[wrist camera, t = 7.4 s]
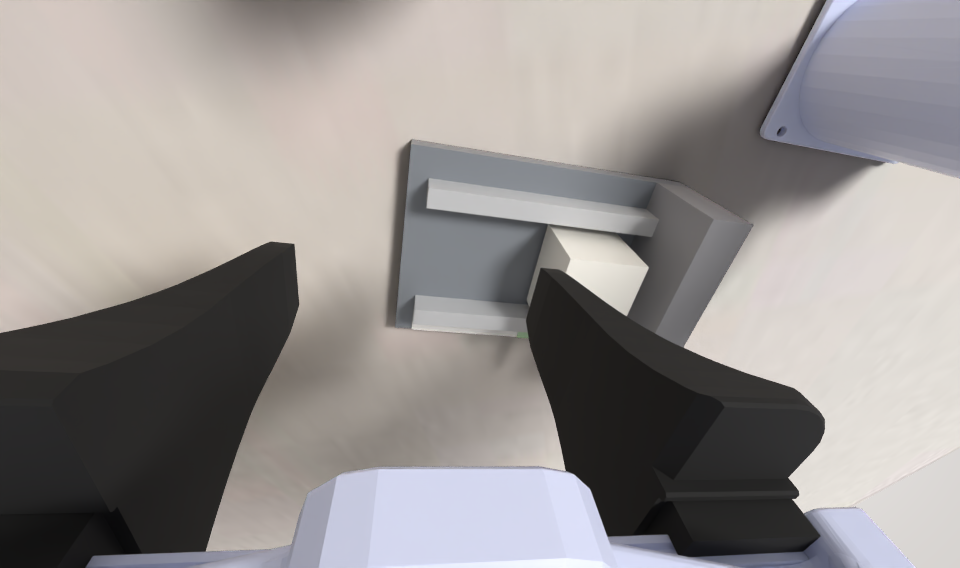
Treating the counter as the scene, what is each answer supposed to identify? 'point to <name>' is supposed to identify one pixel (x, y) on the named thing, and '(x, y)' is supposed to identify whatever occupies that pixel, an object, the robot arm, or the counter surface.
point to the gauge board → (521, 230)
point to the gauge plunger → (593, 263)
